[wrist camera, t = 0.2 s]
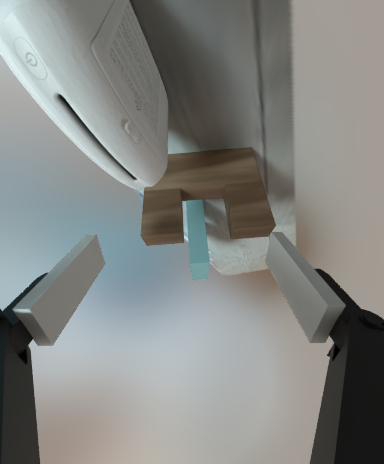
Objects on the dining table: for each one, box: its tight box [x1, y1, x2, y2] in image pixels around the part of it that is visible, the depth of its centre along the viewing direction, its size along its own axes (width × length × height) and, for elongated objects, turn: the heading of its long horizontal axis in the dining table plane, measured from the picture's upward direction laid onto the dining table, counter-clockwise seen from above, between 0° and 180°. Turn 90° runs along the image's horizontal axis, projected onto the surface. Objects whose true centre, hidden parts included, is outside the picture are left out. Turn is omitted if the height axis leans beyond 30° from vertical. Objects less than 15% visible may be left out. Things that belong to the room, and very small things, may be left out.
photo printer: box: [0, 0, 168, 190], centre depth 13 cm, size 10×4×12 cm, turn 19°
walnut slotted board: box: [141, 148, 276, 246], centre depth 23 cm, size 2×14×12 cm, turn 93°
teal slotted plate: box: [186, 199, 209, 280], centre depth 36 cm, size 10×3×12 cm, turn 3°
